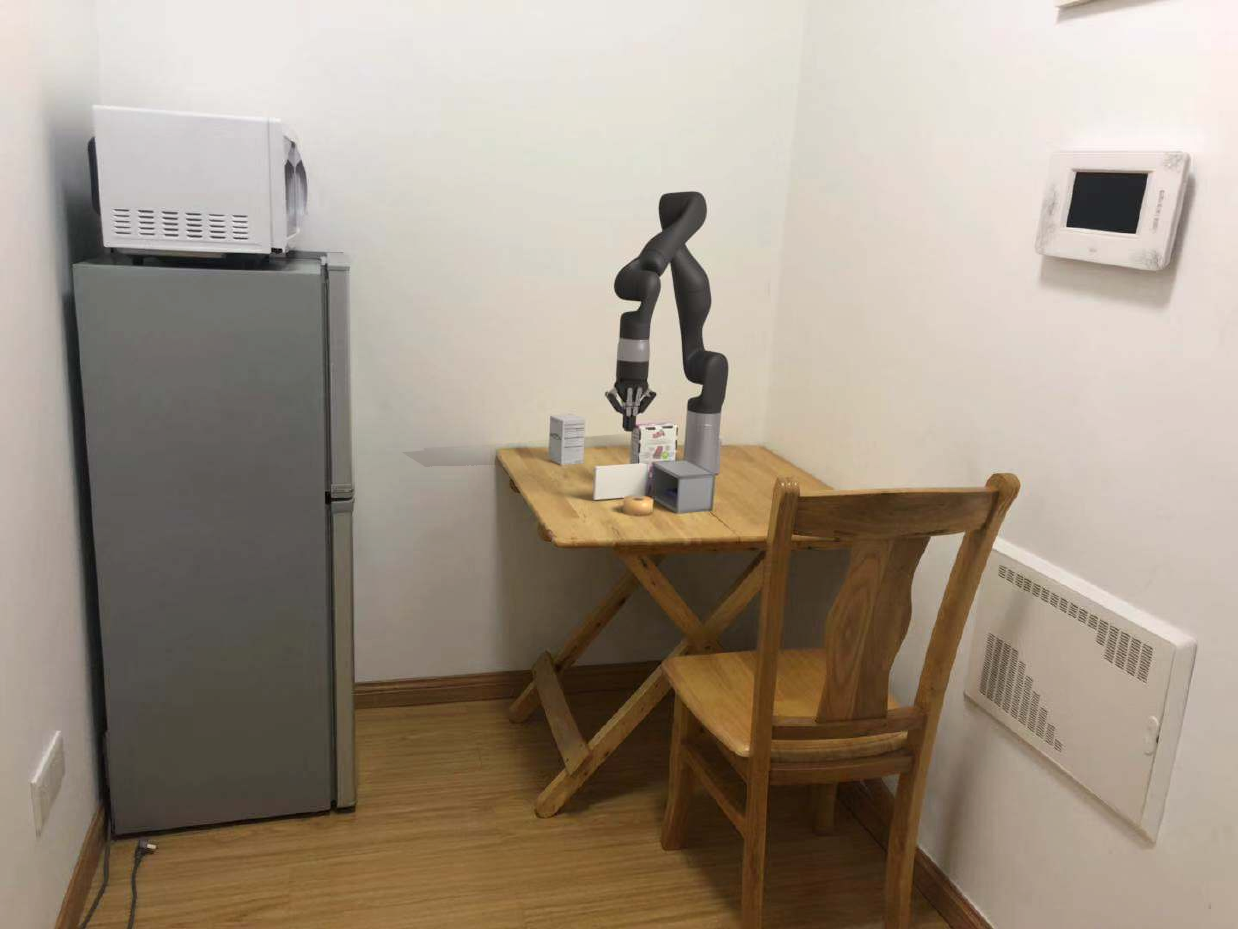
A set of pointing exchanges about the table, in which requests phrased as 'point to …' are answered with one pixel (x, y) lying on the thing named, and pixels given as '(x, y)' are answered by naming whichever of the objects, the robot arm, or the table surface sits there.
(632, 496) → the tan donut
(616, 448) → the table surface
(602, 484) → the cover
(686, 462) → the box
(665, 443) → the candy bar box
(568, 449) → the supplement box
